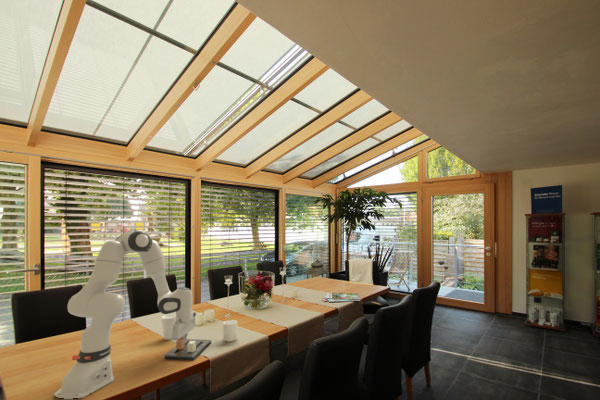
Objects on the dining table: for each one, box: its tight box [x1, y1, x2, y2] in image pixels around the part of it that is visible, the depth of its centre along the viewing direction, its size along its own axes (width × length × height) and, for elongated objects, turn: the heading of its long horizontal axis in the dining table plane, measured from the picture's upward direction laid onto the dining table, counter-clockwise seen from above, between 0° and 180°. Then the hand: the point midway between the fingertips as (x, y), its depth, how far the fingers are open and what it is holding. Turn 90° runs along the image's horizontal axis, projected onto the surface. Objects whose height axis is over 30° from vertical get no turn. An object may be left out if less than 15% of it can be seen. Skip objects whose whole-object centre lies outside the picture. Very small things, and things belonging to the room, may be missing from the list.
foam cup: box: [161, 313, 176, 341], centre depth 190 cm, size 10×9×13 cm
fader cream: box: [187, 341, 196, 353], centre depth 163 cm, size 4×3×5 cm
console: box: [163, 338, 212, 361], centre depth 169 cm, size 22×16×2 cm
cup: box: [222, 319, 238, 343], centre depth 187 cm, size 8×12×10 cm
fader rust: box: [175, 338, 185, 350], centre depth 167 cm, size 4×3×5 cm
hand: (183, 342), depth 171 cm, fingers closed
